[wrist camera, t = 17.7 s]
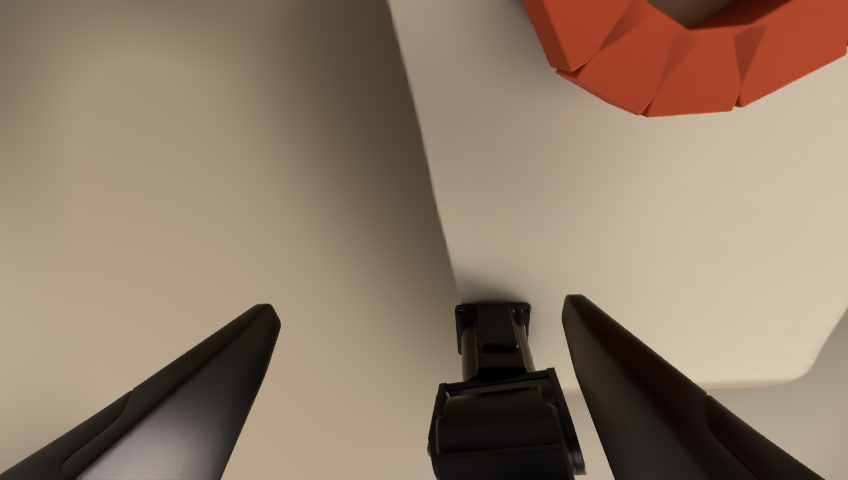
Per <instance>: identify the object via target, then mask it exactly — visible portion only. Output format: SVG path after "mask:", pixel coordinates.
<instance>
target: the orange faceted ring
mask: <svg viewBox="0 0 848 480" xmlns="http://www.w3.org/2000/svg"><path fill="white" fill-rule="evenodd" d="M522 1H523V3H524V5H525V8H526V10H527V12H528V15H529V17H530V19H531V22H532V24H533V26H534V29H535V31H536V33H537V36H538V38H539V40H540V43H541V45H542V47H543V50H544V52H545V54H546V57H547V59H548V61H549V64H550V66H551V67H554V68H558V69H557V70H556V73H557V74H559V75H560V76H562V77H564V78H566V79H567V80H569V81H571V82H573V83H574V84H576V85H578V86H579V87H581V88H583V89H585V90H586V91H588V92H590V93H591V94H593V95H595V96H597V97H598V98H600V99H602V100H603V101H605V102H607V103H609V104H611V105H614V106H616V107H618V108H621V109H623V110H626V111H628V112H630V113H633V114H635V115H643V116H645V117H660V116H674V115H687V114H701V113H714V112H727V111H732V109H733V107H734V106H736V107H740V108H741V107H744V106H746V105H748V104H750V103H752V102H754V101H756V100H758V99H760V98H762V97H764V96H766V95H768V94H770V93H772V92H774V91H776V90H778V89H780V88H782V87H784V86H786V85H788V84H790V83H792V82H794V81H796V80H798V79H800V78H802V77H804V76H806V75H807V74H809V73H811V72H813V71H815V70H817V69H819V68H821V67H823V66H825V65H827V64H829V63H831V62H833V61H835V60H837V59H839V58H841V57H843V56H845V55H846V53H847V46H848V0H738V1H737V2H735V3H733V4H732V5H730V6H729V7H727V8H725V9H724V10H722V11H721V12H719V13H717V14H716V15H714V16H712V17H711V18H709V19H708V20H706V21H704V22H703V23H701V24H699V25H698V26H694V27H684V26H683V25H681V24H680V23H678V22H677V21H675V20H674V19H672V18H671V17H669V16H668V15H666V14H665V13H663V12H662V11H661V10H659V9H658V8H656V7H655V6H653V5H652V4H650V3H649V2H647V0H522Z"/></svg>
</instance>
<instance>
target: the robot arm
mask: <svg viewBox="0 0 848 480" xmlns="http://www.w3.org/2000/svg"><path fill="white" fill-rule="evenodd" d="M525 308H527V309H525ZM459 310H462V311H459ZM531 313H532V309H531V305H530V304H528V303H502V304H465V305H458V306H456V307H455V318H456V331H457V343H458V353H459V354H460V355H462V373H463V382H457V383H450V384H447V383H441V384H440V385H439V389H438V394H437V396H436V401H435V406H434V411H433V416H432V421H431V426H430V431H429V436H428V441H429V443H428V446H427V451H428V454H429V456H430V457H431V461H432V466H433V470H434V473H435V476H436V478H437V480H575V479H574V475H587V472H586V467H585V463H584V460H583V456H582V452H581V449H580V445H579V442H578V438H577V435H576V432H575V428H574V425H573V422H572V419H571V416H570V413H569V410H568V407H567V404H566V401H565V398H564V395H563V392H562V389H561V386H560V383H559V380H558V378H557V375H556V372H555V369H554V367H553V368H546V369H547V370H541V371H535V367H534V363H533V359H532V355H531V351H530V347H529V343H528V340H529V331H530V322H531ZM562 324H563V328H564V332H565V336H566V340H567V344H568V348H569V352H570V356H571V360H572V363H573V367H574V371H575V374H576V377H577V380H578V383H579V386H580V388H581V391H582V394H583V396H584V399H585V401H586V404H587V407H588V409H589V412H590V415H591V417H592V420H593V422H594V425H595V428H596V431H597V433H598V436H599V439H600V441H601V444H602V446H603V449H604V452H605V454H606V457H607V460H608V462H609V465H610V468H611V470H612V473H613V475H614V478H615V480H825V479H823V478H822V477H821V476H819V475H818V474H816V473H815V472H813V471H812V470H811V469H809V468H808V467H806V466H805V465H803V464H802V463H800V462H799V461H798V460H796V459H795V458H793V457H792V456H790V455H789V454H788V453H786V452H785V451H784V450H782V449H781V448H779V447H778V446H776V445H775V444H774V443H772V442H771V441H770V440H768V439H767V438H765V437H764V436H763V435H761V434H760V433H758V432H757V431H756V430H754V429H753V428H752V427H750V426H749V425H748V424H747V423H745V422H744V421H743V420H741V419H740V418H739V417H737V416H736V415H735V414H733V413H732V412H731V411H730V410H728V409H727V408H726V407H724V406H723V405H722V404H721V403H719V402H718V401H717V400H716V399H714V398H713V397H712V396H710V395H707V393H706V392H705V391H704V390H703V389H701V388H700V387H699V386H698V385H696V384H695V383H694V382H693V381H691V380H690V379H689V378H687V377H686V376H685V375H684V374H682V373H681V372H680V371H679V370H677V369H676V368H675V367H674V366H672V365H671V364H670V363H668V362H667V361H666V360H665V359H663V358H662V357H661V356H660V355H658V354H657V353H656V352H654V351H653V350H652V349H651V348H649V347H648V346H647V345H646V344H644V343H643V342H642V341H641V340H639V339H638V338H637V337H635V336H634V335H633V334H632V333H630V332H629V331H628V330H627V329H625V328H624V327H623V326H622V325H620V324H619V323H618V322H616V321H615V320H614V319H613V318H611V317H610V316H609V315H608V314H606V313H605V312H604V311H602V310H601V309H600V308H599V307H597V306H596V305H595V304H594V303H592V302H591V301H590V300H589V299H587V298H586V297H585V296H583V295H581V294H571V295H567V296H566V297H565V300H564V306H563V311H562ZM280 328H281V323H280V319H279V317H278V316H277V314H276V312H275V310H274V308H273V306H272V305H270V304H257V305H255V306H253V307H252V308H250V309H249V310H248V311H246V312H245V313H243V314H242V315H240V316H239V317H237V318H236V319H234V320H233V321H232V322H230V323H229V324H227V325H226V326H224V327H223V328H221V329H220V330H218V331H217V332H215V333H214V334H213V335H211V336H210V337H208V338H207V339H205V340H204V341H202V342H201V343H199V344H198V345H197V346H195V347H194V348H192V349H191V350H189V351H188V352H186V353H185V354H184V355H182V356H180V357H179V358H177V359H176V360H175V361H173V362H172V363H170V364H169V365H167V366H166V367H164V368H163V369H161V370H160V371H158V372H157V373H156V374H154V375H153V376H151V377H150V378H148V379H147V380H145V381H144V382H142V383H141V384H140V385H138V386H137V387H135V388H134V389H133V390H132V391H129V392H128V393H126V394H125V395H123V396H122V397H121V398H119V399H117V400H116V401H115V402H113V403H112V404H110V405H109V406H107V407H106V408H104V409H103V410H101V411H100V412H98V413H97V414H95V415H94V416H92V417H91V418H89V419H88V420H86V421H85V422H83V423H81V424H80V425H78V426H77V427H75V428H73V429H72V430H70V431H69V432H67V433H66V434H64V435H63V436H61V437H59V438H58V439H56V440H54V441H53V442H51V443H50V444H48V445H46V446H45V447H43V448H42V449H40V450H39V451H37V452H35V453H34V454H32V455H30V456H29V457H27V458H26V459H24V460H22V461H21V462H19V463H18V464H16V465H15V466H13V467H11V468H10V469H8V470H6V471H5V472H3V473H2V474H0V480H220V479H221V477H222V475H223V472H224V470H225V468H226V465H227V463H228V461H229V459H230V456H231V454H232V452H233V449H234V447H235V445H236V442H237V440H238V438H239V435H240V433H241V431H242V428H243V426H244V424H245V421H246V419H247V416H248V414H249V412H250V410H251V407H252V405H253V403H254V400H255V398H256V396H257V393H258V391H259V389H260V387H261V384H262V382H263V379H264V377H265V374H266V372H267V369H268V366H269V363H270V360H271V356H272V353H273V350H274V347H275V344H276V341H277V337H278V335H279V331H280Z"/></svg>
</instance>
